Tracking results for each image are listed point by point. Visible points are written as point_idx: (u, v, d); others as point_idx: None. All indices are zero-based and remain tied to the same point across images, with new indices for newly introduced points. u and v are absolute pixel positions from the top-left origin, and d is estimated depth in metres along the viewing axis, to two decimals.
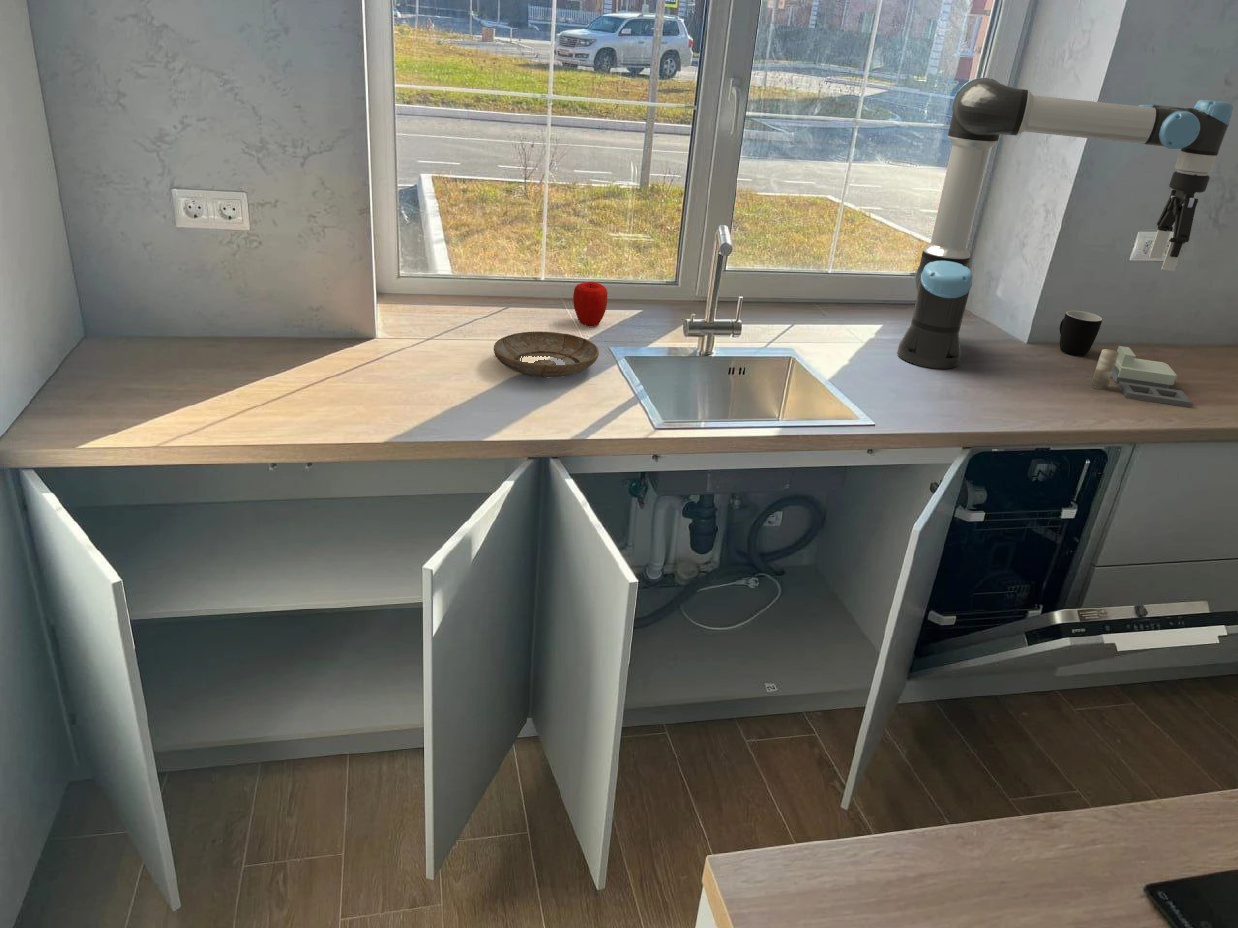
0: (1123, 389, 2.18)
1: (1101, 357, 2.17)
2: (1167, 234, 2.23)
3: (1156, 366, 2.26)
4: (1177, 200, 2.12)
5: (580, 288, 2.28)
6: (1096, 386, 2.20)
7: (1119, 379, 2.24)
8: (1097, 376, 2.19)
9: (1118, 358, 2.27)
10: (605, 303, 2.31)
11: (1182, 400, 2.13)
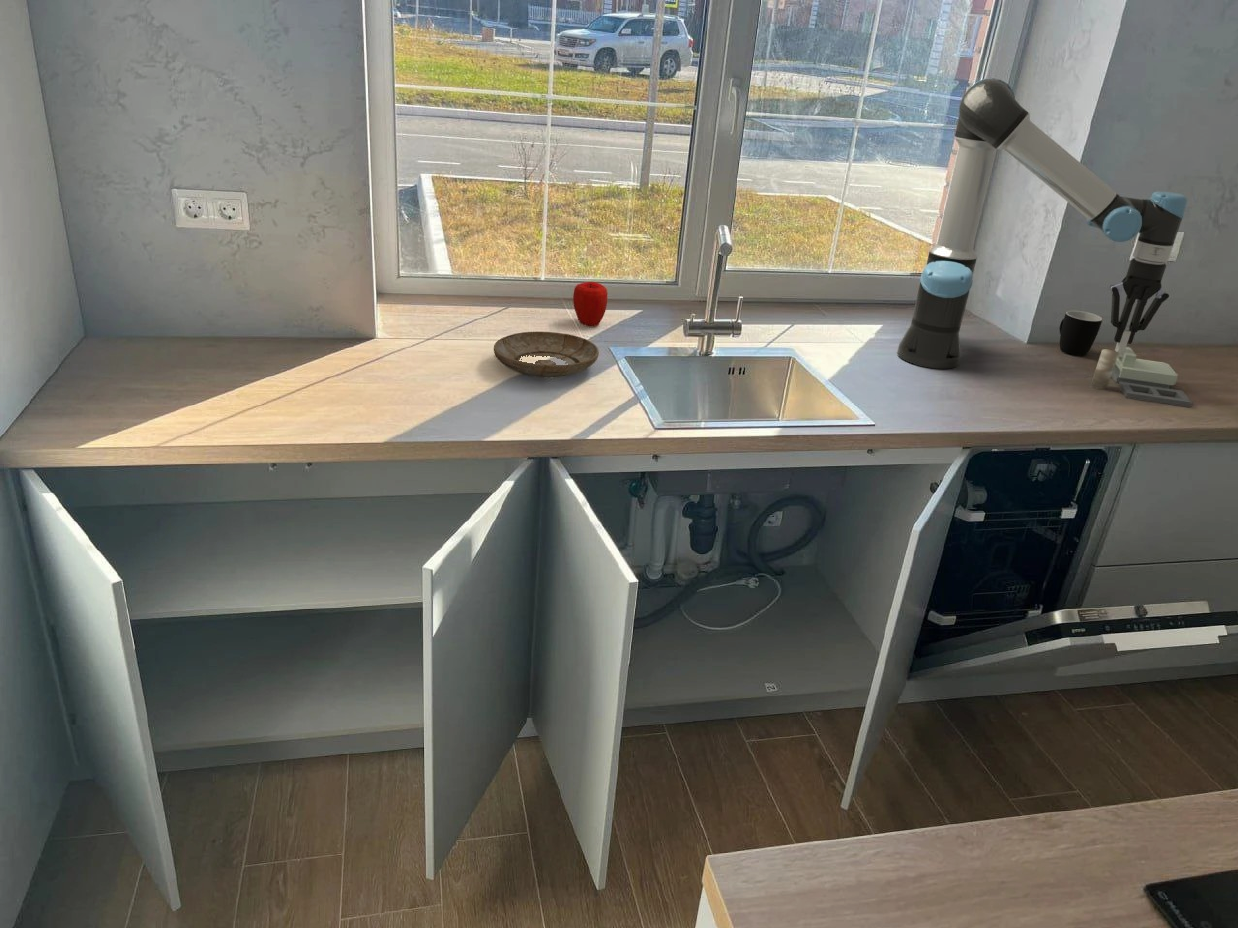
0: (1123, 389, 2.18)
1: (1101, 357, 2.17)
2: None
3: (1158, 366, 2.26)
4: None
5: (580, 288, 2.28)
6: (1096, 386, 2.20)
7: (1119, 379, 2.24)
8: (1097, 376, 2.19)
9: (1119, 358, 2.27)
10: (605, 303, 2.31)
11: (1182, 400, 2.13)
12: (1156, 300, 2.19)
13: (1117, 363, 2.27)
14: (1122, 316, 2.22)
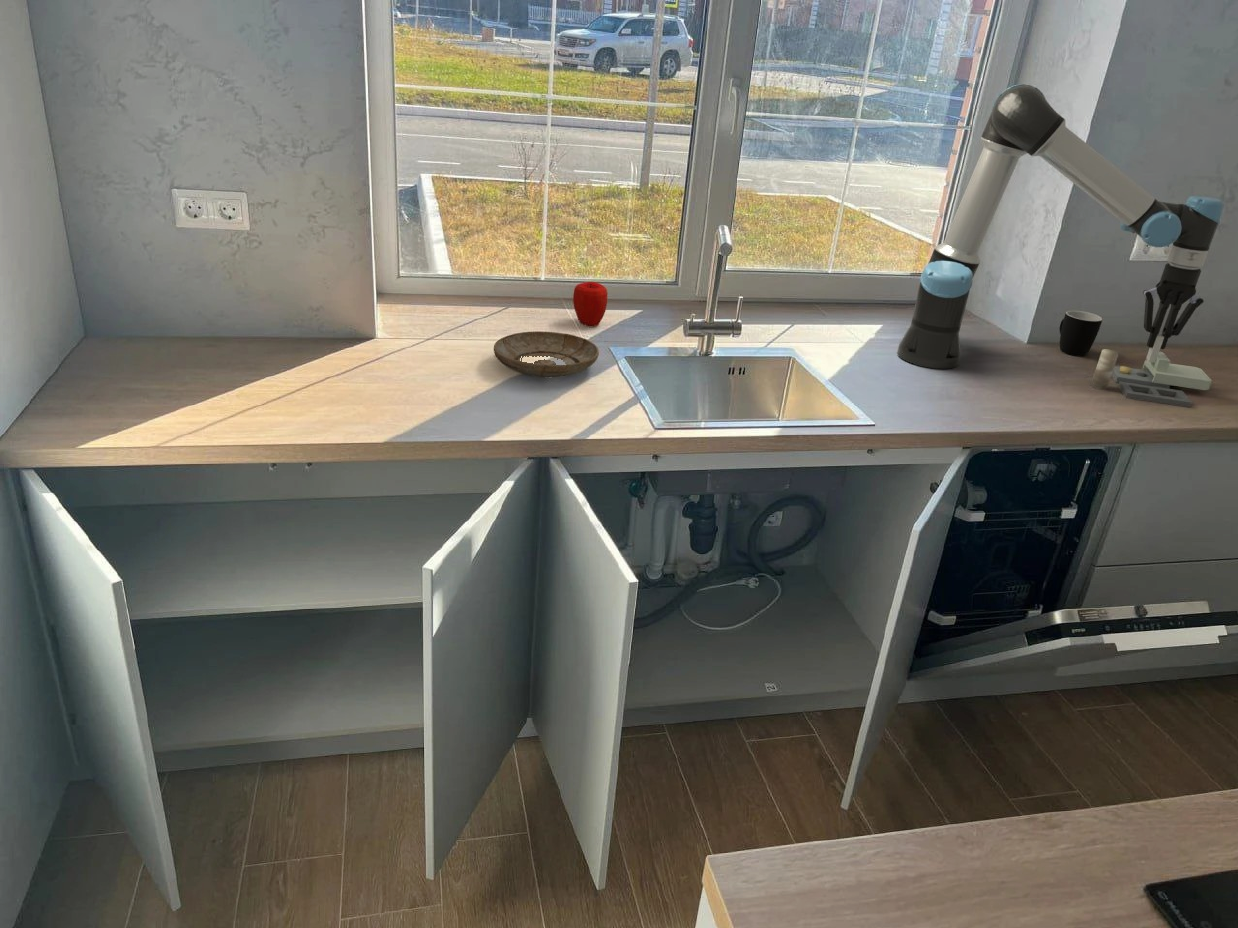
0: (1123, 389, 2.18)
1: (1101, 357, 2.17)
2: None
3: (1191, 371, 2.24)
4: None
5: (580, 288, 2.28)
6: (1096, 386, 2.20)
7: (1119, 379, 2.24)
8: (1097, 376, 2.19)
9: (1152, 363, 2.26)
10: (605, 303, 2.31)
11: (1182, 400, 2.13)
12: (1190, 305, 2.17)
13: (1150, 368, 2.26)
14: (1155, 321, 2.21)
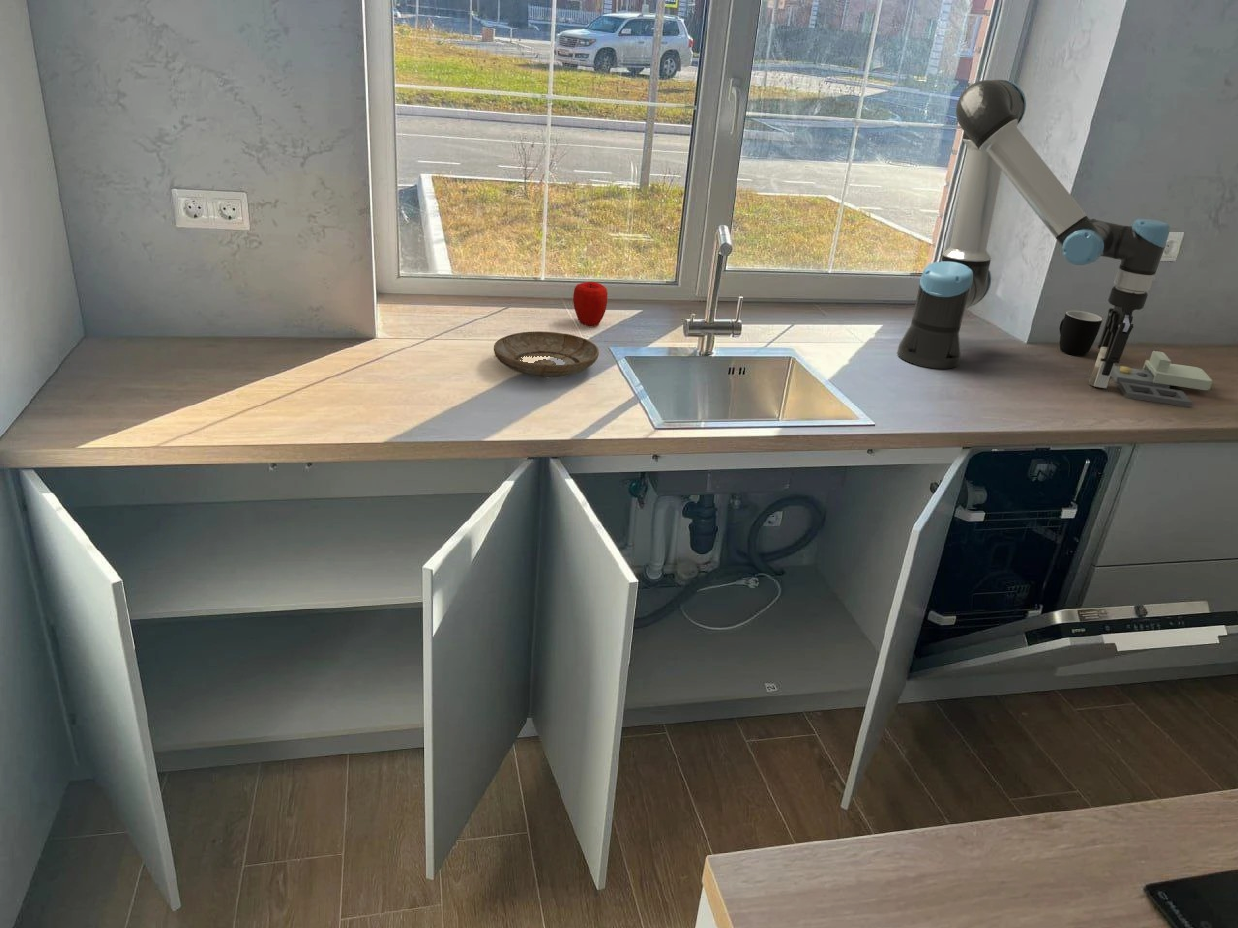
0: (1123, 389, 2.18)
1: (1099, 354, 2.17)
2: None
3: (1191, 371, 2.24)
4: (1115, 317, 2.12)
5: (580, 288, 2.28)
6: (1093, 383, 2.20)
7: (1119, 379, 2.24)
8: (1095, 373, 2.19)
9: (1152, 363, 2.26)
10: (605, 303, 2.31)
11: (1182, 400, 2.13)
12: None
13: (1150, 368, 2.25)
14: None
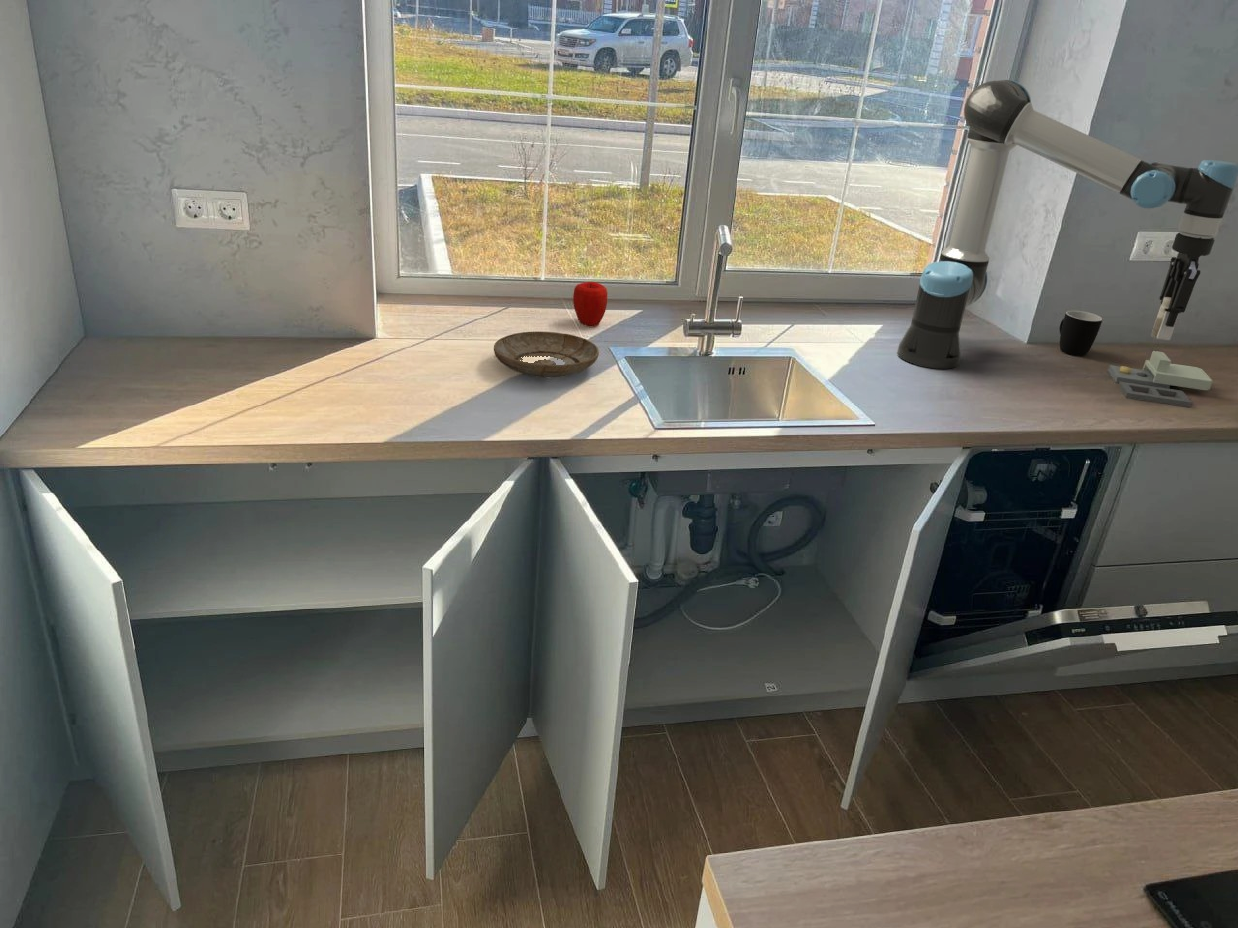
0: (1123, 389, 2.18)
1: (1163, 305, 2.09)
2: None
3: (1191, 371, 2.24)
4: (1180, 265, 2.03)
5: (580, 288, 2.28)
6: (1156, 335, 2.11)
7: (1119, 379, 2.24)
8: (1158, 325, 2.10)
9: (1152, 363, 2.26)
10: (605, 303, 2.31)
11: (1182, 400, 2.13)
12: None
13: (1150, 368, 2.25)
14: None
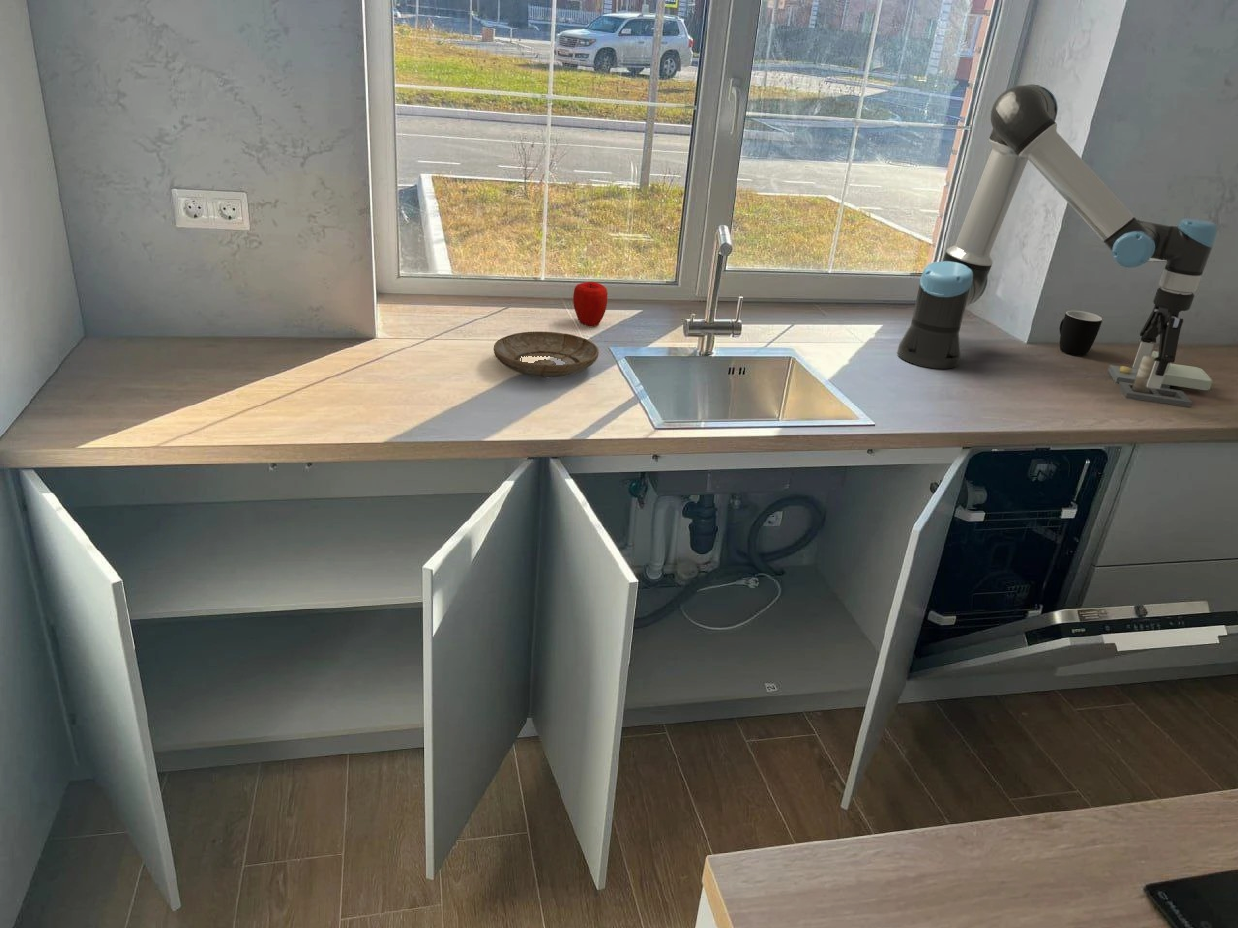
0: (1123, 389, 2.18)
1: (1142, 364, 2.15)
2: (1151, 346, 2.19)
3: (1191, 371, 2.24)
4: (1161, 317, 2.08)
5: (580, 288, 2.28)
6: None
7: (1119, 379, 2.24)
8: (1137, 383, 2.16)
9: None
10: (605, 303, 2.31)
11: (1182, 400, 2.13)
12: None
13: None
14: None
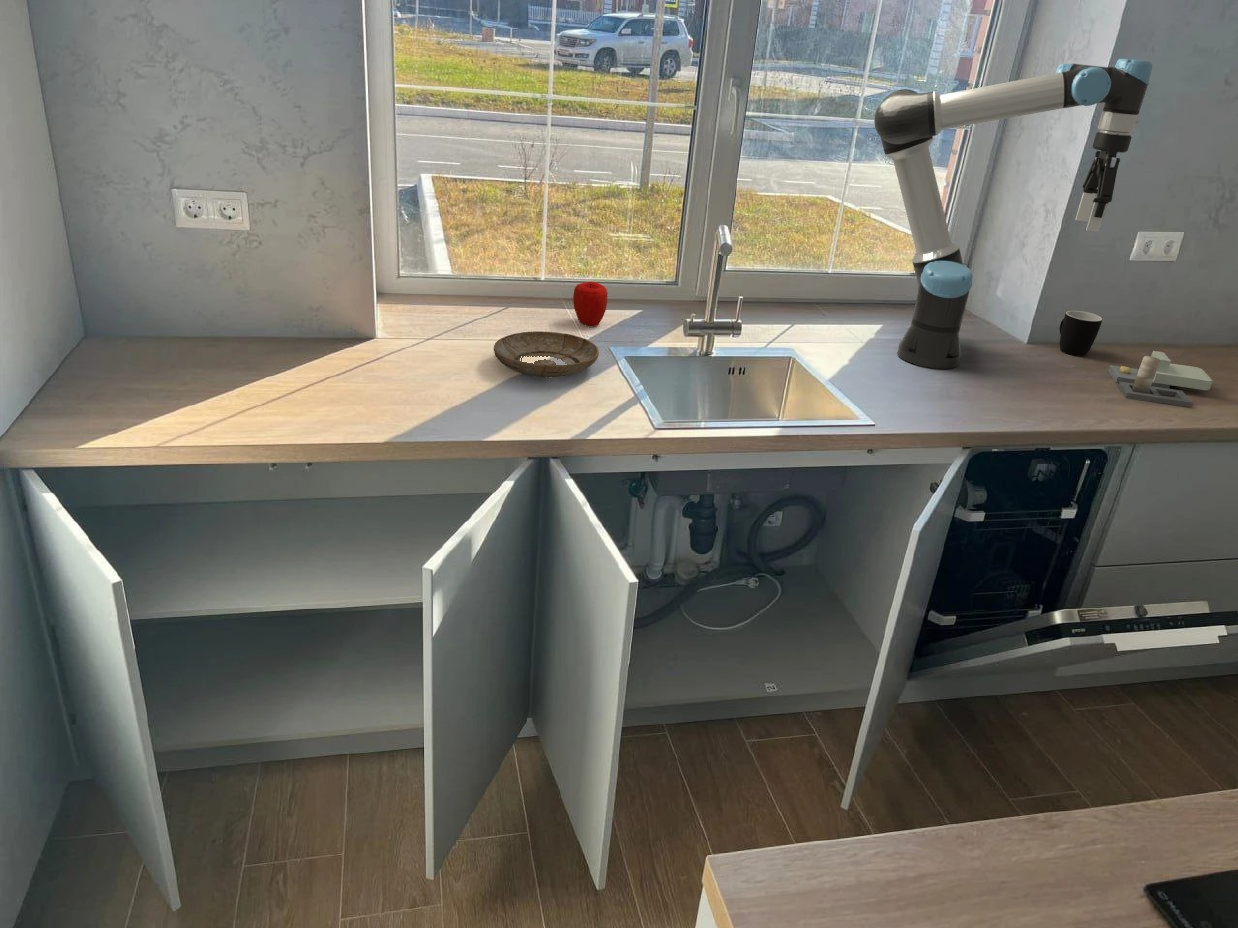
0: (1123, 389, 2.18)
1: (1142, 364, 2.15)
2: (1092, 196, 2.23)
3: (1191, 371, 2.24)
4: (1100, 160, 2.12)
5: (580, 288, 2.28)
6: None
7: (1119, 379, 2.24)
8: (1138, 383, 2.16)
9: None
10: (605, 303, 2.31)
11: (1182, 400, 2.13)
12: None
13: None
14: None
